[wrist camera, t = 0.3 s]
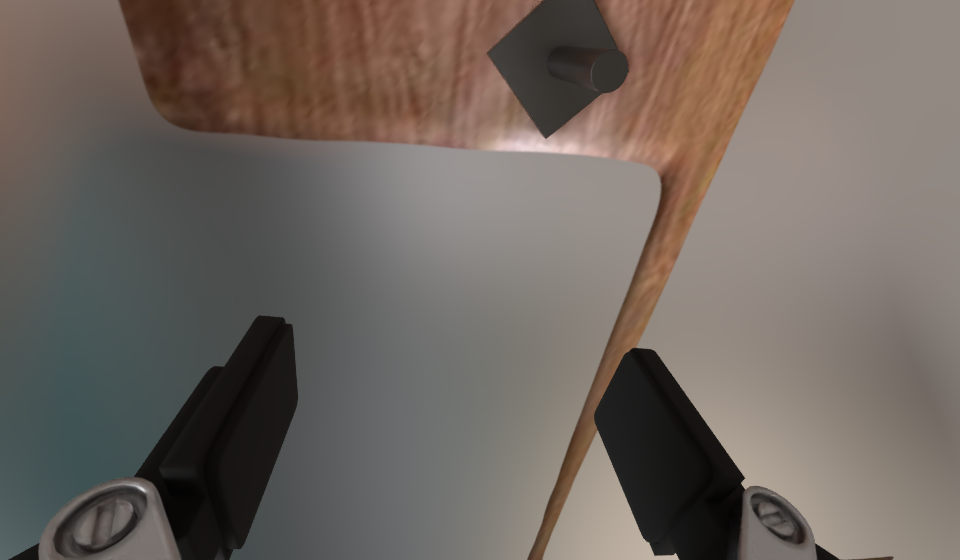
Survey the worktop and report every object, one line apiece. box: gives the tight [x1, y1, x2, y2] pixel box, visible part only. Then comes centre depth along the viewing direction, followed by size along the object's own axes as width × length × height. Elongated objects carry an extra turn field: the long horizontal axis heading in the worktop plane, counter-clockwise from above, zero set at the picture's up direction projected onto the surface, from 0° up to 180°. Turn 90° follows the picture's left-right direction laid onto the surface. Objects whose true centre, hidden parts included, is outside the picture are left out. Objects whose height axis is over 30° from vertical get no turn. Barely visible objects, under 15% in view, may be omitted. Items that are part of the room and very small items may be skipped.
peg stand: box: [487, 0, 629, 139], centre depth 29 cm, size 9×9×12 cm
